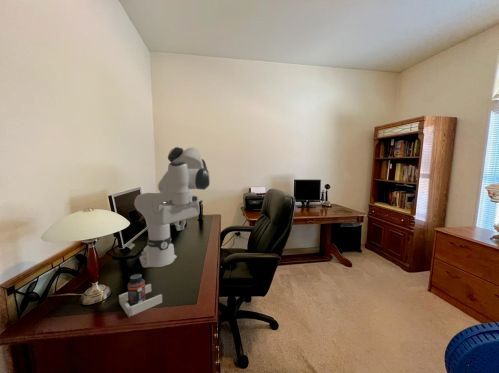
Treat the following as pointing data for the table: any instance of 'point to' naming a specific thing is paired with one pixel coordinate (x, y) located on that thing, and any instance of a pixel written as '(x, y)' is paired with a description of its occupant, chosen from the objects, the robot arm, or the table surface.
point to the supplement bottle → (136, 290)
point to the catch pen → (140, 306)
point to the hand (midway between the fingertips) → (180, 229)
